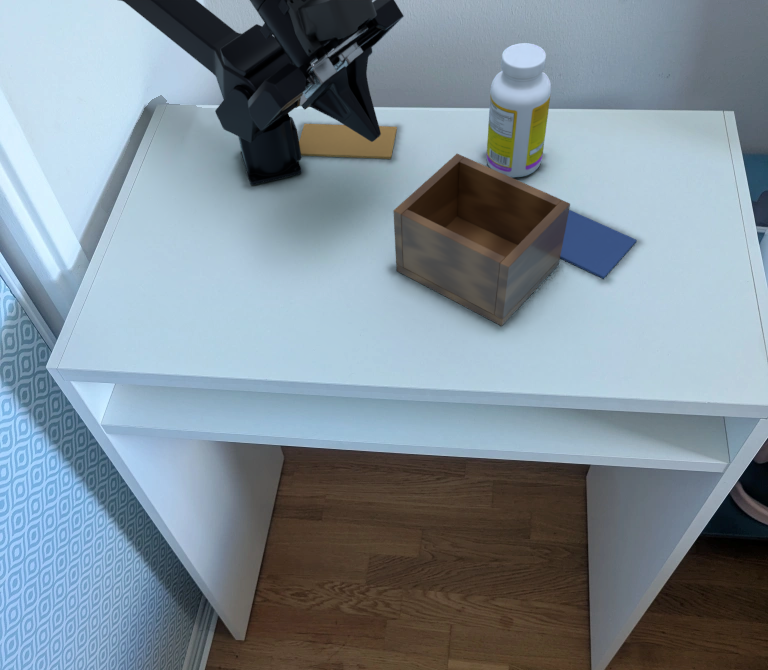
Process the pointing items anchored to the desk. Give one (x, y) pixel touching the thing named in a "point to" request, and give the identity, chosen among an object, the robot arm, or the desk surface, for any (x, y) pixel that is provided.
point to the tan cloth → (345, 142)
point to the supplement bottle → (518, 111)
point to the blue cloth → (593, 245)
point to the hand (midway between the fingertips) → (376, 138)
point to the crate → (479, 237)
